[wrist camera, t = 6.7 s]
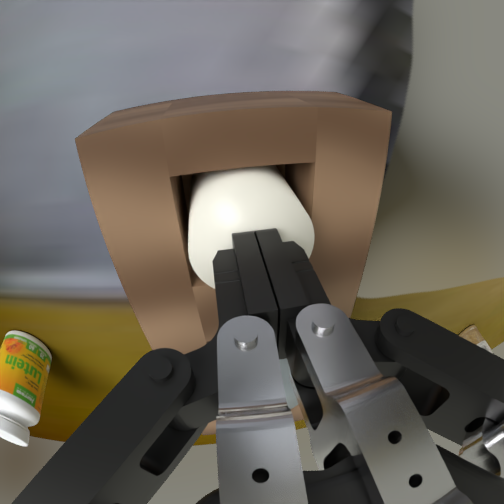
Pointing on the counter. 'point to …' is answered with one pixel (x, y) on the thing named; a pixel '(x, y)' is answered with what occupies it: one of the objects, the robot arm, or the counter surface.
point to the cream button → (241, 212)
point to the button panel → (220, 158)
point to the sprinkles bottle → (475, 337)
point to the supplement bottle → (21, 384)
